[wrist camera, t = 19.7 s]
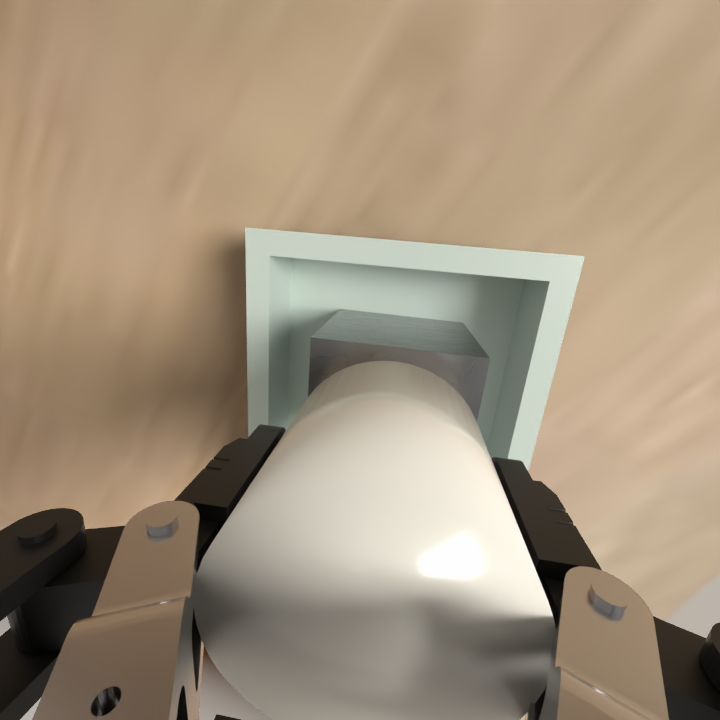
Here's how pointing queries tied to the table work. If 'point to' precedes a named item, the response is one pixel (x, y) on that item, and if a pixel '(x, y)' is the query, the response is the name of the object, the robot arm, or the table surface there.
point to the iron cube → (401, 349)
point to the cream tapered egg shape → (377, 565)
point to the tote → (413, 299)
